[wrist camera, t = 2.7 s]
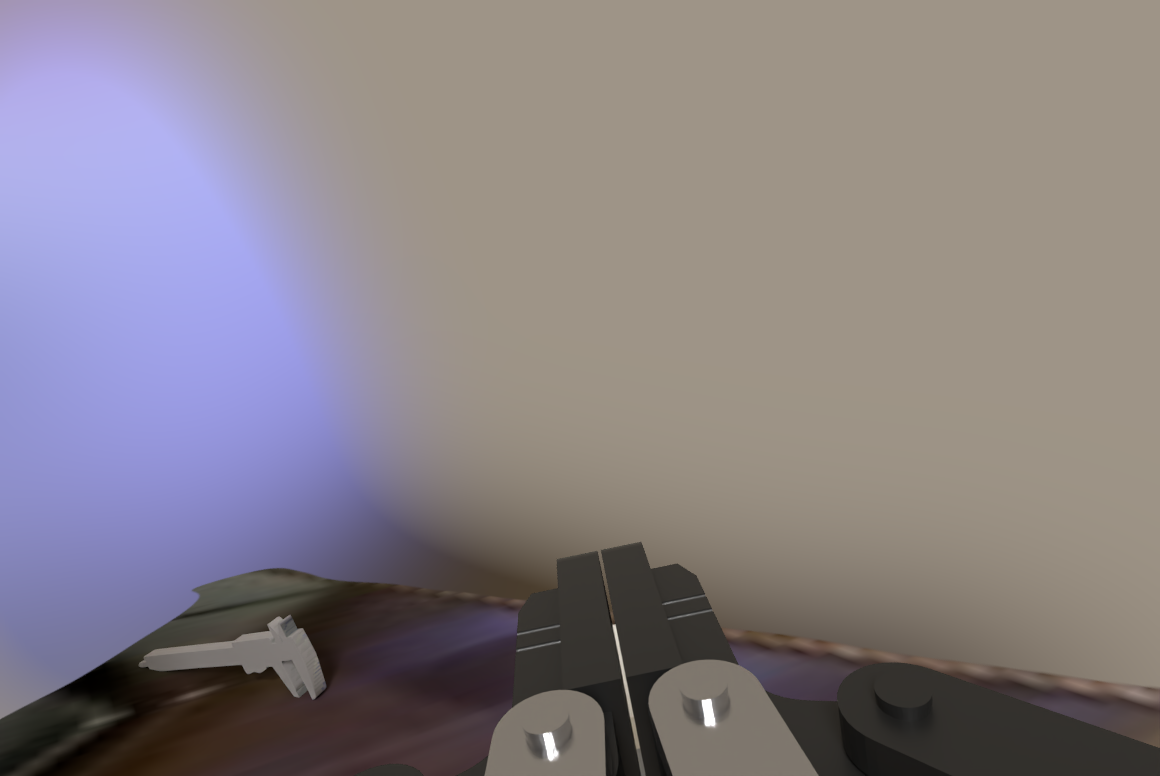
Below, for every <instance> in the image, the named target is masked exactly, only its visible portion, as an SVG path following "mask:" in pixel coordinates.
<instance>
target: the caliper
mask: <svg viewBox="0 0 1160 776" xmlns="http://www.w3.org/2000/svg"><path fill="white" fill-rule="evenodd" d="M267 626H268V628H269V630H270V631H266V632H259V633H252V634H244V635H242V636H240V637H239V638H237V639H236V640H235V641H228V642H218V643H209V644H199V645H190V646H181V647H172V648H163V649H155V650H153V651H152V652H150V653H149V654H147V655H146V656H144V659H145V660H143V661H142V662H140V663H139V667H149V669H152V670H157V671H170V670H181V669H192V668H205V667H218V666H231V665H242V666H243V668H244V670H245V672H246V673H247V674H251V673H252V672H257V673H261V672H263V671H264V670H266V669H267V668H268V667H273V668H274V670H275V671H276V672H277V674H278V675H279V676H280V678H281V679H282V681H283V682H284V683H285V685H286V686H287V687H288V689H289V690H290V691H291V693H292V694H293V696H294V697H301V696H302V695H303V694H304V693H305V692H306V691H307V690H308V691H309V694H310V696H311V698H312V700H313V699H315V698H316V697H318V696H319V695H320V694H321V693H322V692H323V691H324V690H325V689H326V683H325V680H324V676H323V673H322V670H321V667H320V664H319V661H318V658H317V654H316V652H315V650H314V648H313V646H312V645H311V643H310V641H309V639H308V637H307V635H306V633H305V632H304V630H303V629H297V627H296V625H295V623H294V621H293V619H292V617H291V615H289V616H288V617H286V618H285V619H282V618H281V617H277V618H276V619H274V620H273V621H272V622H270V623H269V624H268V625H267Z"/></svg>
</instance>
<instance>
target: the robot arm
mask: <svg viewBox="0 0 1160 776" xmlns="http://www.w3.org/2000/svg"><path fill="white" fill-rule="evenodd" d="M601 553H602V558H603V563H604V568H605V573H606V578H607V583H608V588H609V594H610V599H611V604H612V609H613V614H614V619H615V624H616V630H617V635H618V640H619V645H620V650H621V655H622V660H623V665H624V671H625V676H626V681H627V686H628V691H629V695H630V700H631V705H632V710H633V715H634V720H635V725H636V730H637V735H638V740H639V745H640V750H641V755H642V760H643V765H644V770H645V775H646V776H1160V748H1158V747H1155V746H1152V745H1149V744H1146V743H1143V742H1140V741H1137V740H1134V739H1131V738H1129V737H1126V736H1123V735H1120V734H1117V733H1114V732H1111V731H1108V730H1105V729H1103V728H1100V727H1097V726H1094V725H1091V724H1088V723H1085V722H1082V721H1079V720H1076V719H1074V718H1071V717H1068V716H1065V715H1062V714H1059V713H1056V712H1053V711H1050V710H1047V709H1045V708H1042V707H1039V706H1036V705H1033V704H1030V703H1027V702H1024V701H1021V700H1018V699H1016V698H1013V697H1010V696H1007V695H1004V694H1001V693H998V692H995V691H992V690H990V689H987V688H984V687H981V686H978V685H975V684H972V683H969V682H966V681H963V680H961V679H958V678H955V677H952V676H949V675H946V674H943V673H940V672H937V671H934V670H932V669H928V668H925V667H922V666H918V665H913V664H907V663H879V664H873V665H869V666H865V667H863V668H860V669H858V670H856V671H854V672H853V673H851V674H850V675H848V676H847V677H846V678H845V679H844V680H843V682H842V683H841V685H840V687H839V689H838V693H837V702H836V701H807V700H795V699H790V698H784V697H781V696H778V695H774V694H772V693H769V692H767V691H765V690H764V689H763V687H762V685H761V684H760V682H759V681H758V680H757V678H756V677H755V676H754V675H753V674H752V673H751V672H749V671H748V670H746V669H745V668H743V667H741V666H739V665H738V663H737V661H736V658H735V656H734V654H733V652H732V650H731V648H730V646H729V644H728V642H727V639H726V637H725V635H724V633H723V631H722V629H721V627H720V625H719V623H718V620H717V618H716V616H715V614H714V612H712V608H711V606H710V604H709V602H708V599H707V597H705V593H704V591H703V589H702V587H701V585H700V582H699V580H698V578H697V576H696V575H694V574H693V573H691V572H690V571H688V570H686V569H685V568H683V567H682V566H680V565H679V564H673V565H669V566H664V567H659V568H654V569H650V566H649V563H648V560H647V557H646V554H645V551H644V548H643V545H642V543H641V542H639V543H633V544H628V545H623V546H619V547H614V548H609V549H604V550H601ZM557 574H558V575H557V576H558V588H557V589H553V590H547V591H543V592H538V593H533V594H531V595H530V597H529V598H528V600H527V601H526V603H525V604H524V606H523V607H522V608H521V610H520V611H519V613H518V628H517V633H518V636H517V643H516V650H517V653H516V659H515V674H514V689H513V704H512V709H510V710H509V711H508V712H507V713H506V714H505V715H504V716H503V717H502V719H501V720H500V721H499V723H498V725H497V726H496V728H495V730H494V733H493V737H492V741H491V746H490V751H489V755H488V756H487V757H486V758H485V759H483V760H482V761H481V762H479V763H478V764H476V765H475V766H473V767H472V768H470V769H468V770H466V771H464V772H463V773H461V774H458V775H456V776H641V772H640V766H639V761H638V756H637V750H636V745H635V740H634V734H633V729H632V724H631V719H630V713H629V708H628V703H627V697H626V692H625V687H624V681H623V676H622V671H621V665H620V660H619V655H618V650H617V645H616V640H615V635H614V630H613V625H612V620H611V615H610V610H609V605H608V601H607V596H606V591H605V586H604V581H603V576H602V571H601V566H600V561H599V556H598V552H597V551H595V552H590V553H585V554H581V555H576V556H570V557H566V558H561V559H557ZM354 776H424V775H423V774H422V773H421V772H420V771H419V770H417V769H415V768H414V767H411V766H408V765H403V764H387V765H381V766H377V767H374V768H370V769H367V770H365V771H363V772H360V773H358V774H356V775H354Z"/></svg>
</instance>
